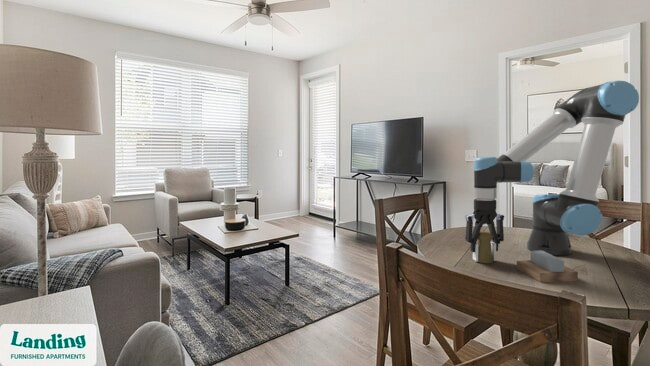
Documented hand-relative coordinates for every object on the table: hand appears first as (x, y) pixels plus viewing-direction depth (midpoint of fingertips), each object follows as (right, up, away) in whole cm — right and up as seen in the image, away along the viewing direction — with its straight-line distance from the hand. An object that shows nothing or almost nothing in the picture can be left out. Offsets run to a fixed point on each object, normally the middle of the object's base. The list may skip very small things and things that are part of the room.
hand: (484, 259), depth 124 cm
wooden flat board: (+13, -2, -14) cm, 20 cm away
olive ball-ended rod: (0, -1, 0) cm, 0 cm away
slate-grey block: (+13, +1, -15) cm, 20 cm away
